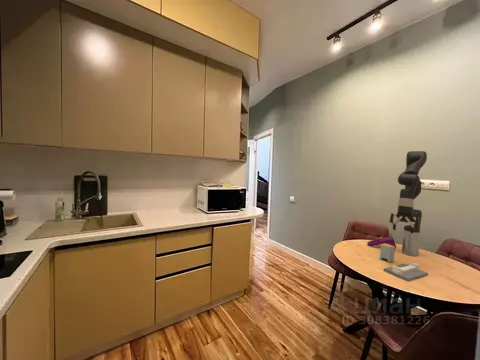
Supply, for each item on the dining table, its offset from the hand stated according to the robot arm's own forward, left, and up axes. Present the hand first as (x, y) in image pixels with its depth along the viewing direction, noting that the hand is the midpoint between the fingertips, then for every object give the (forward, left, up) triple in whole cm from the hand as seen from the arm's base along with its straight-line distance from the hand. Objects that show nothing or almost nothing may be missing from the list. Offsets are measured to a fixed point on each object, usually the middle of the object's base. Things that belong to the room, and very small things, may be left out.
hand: (402, 231), depth 133 cm
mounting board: (+4, +7, -22) cm, 24 cm away
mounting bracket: (-21, -32, -23) cm, 45 cm away
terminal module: (-2, -10, -22) cm, 25 cm away
